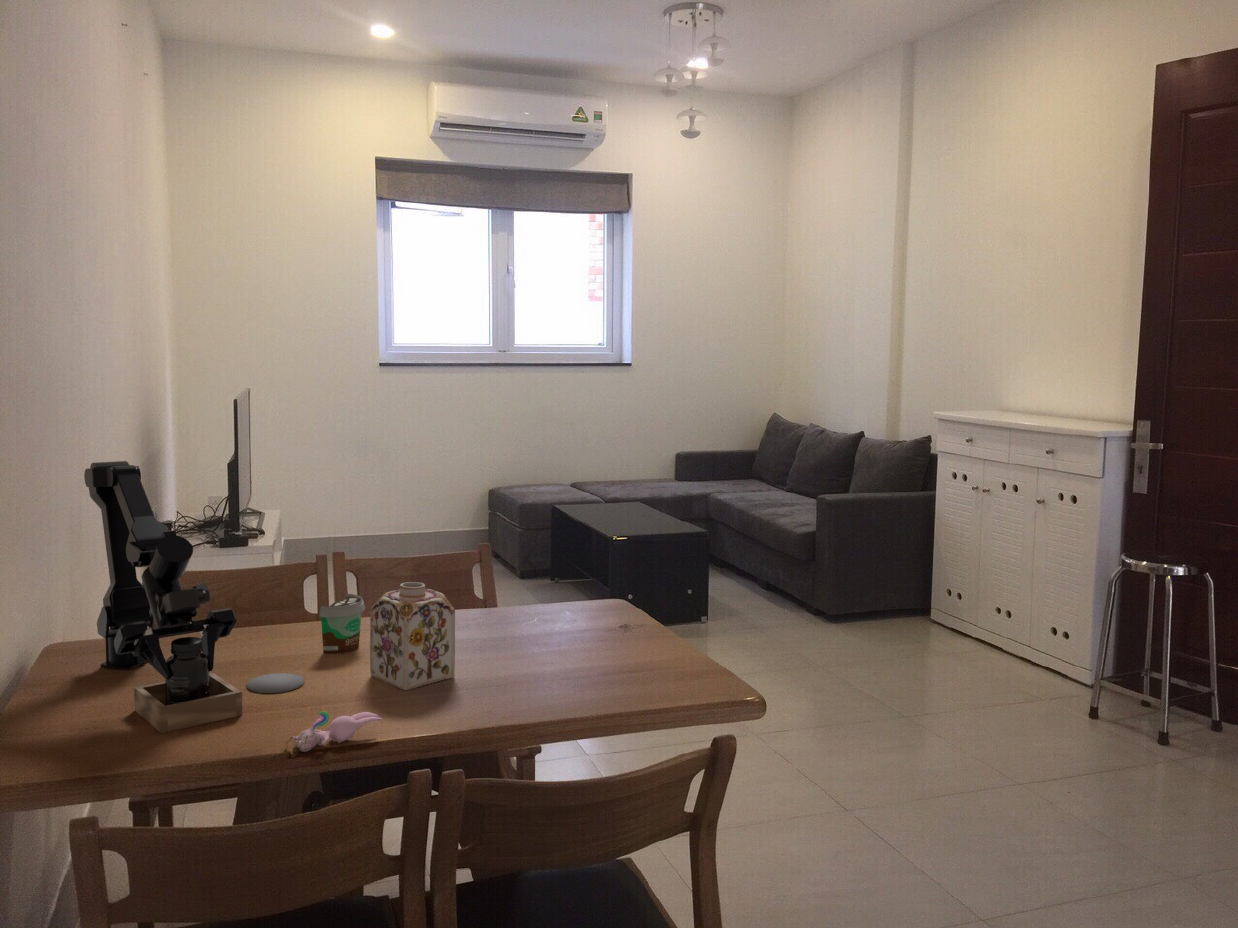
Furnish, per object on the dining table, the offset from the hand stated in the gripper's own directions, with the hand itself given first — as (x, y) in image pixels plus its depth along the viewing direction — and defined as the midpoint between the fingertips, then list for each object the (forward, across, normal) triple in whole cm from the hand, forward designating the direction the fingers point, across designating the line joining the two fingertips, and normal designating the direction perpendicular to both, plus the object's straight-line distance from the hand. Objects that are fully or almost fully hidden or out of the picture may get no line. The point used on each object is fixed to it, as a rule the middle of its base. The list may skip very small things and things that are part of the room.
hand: (190, 673), depth 168 cm
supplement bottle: (+4, 0, +6) cm, 7 cm away
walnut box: (+4, 0, +6) cm, 7 cm away
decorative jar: (+9, +39, +1) cm, 40 cm away
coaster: (+1, +17, +9) cm, 20 cm away
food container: (-8, +38, +18) cm, 43 cm away
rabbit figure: (+23, +13, -13) cm, 30 cm away
